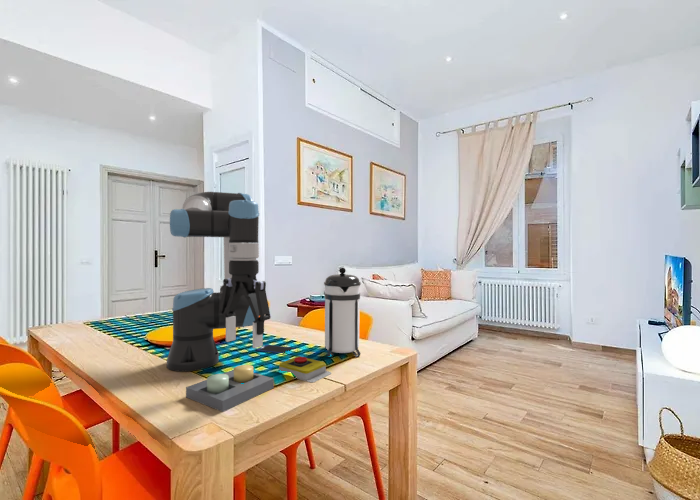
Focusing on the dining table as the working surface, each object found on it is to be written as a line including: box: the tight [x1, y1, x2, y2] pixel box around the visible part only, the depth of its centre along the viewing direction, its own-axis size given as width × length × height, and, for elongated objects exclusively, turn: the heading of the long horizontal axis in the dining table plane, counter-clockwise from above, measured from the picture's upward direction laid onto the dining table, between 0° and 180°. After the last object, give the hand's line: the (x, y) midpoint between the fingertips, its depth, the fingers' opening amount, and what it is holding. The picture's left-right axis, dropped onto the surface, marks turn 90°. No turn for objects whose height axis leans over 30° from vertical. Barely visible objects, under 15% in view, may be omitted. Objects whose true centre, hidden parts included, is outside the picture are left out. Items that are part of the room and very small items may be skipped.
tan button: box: [233, 364, 254, 383], centre depth 94 cm, size 5×5×3 cm
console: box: [185, 369, 275, 412], centre depth 91 cm, size 14×16×2 cm
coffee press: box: [323, 266, 361, 358], centre depth 126 cm, size 17×16×30 cm
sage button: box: [206, 373, 229, 394], centre depth 88 cm, size 5×5×3 cm
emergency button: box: [278, 356, 332, 384], centre depth 105 cm, size 9×4×15 cm
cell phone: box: [255, 344, 297, 354], centre depth 127 cm, size 7×14×1 cm, turn 71°
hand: (243, 343), depth 94 cm, fingers open, 10 cm apart
